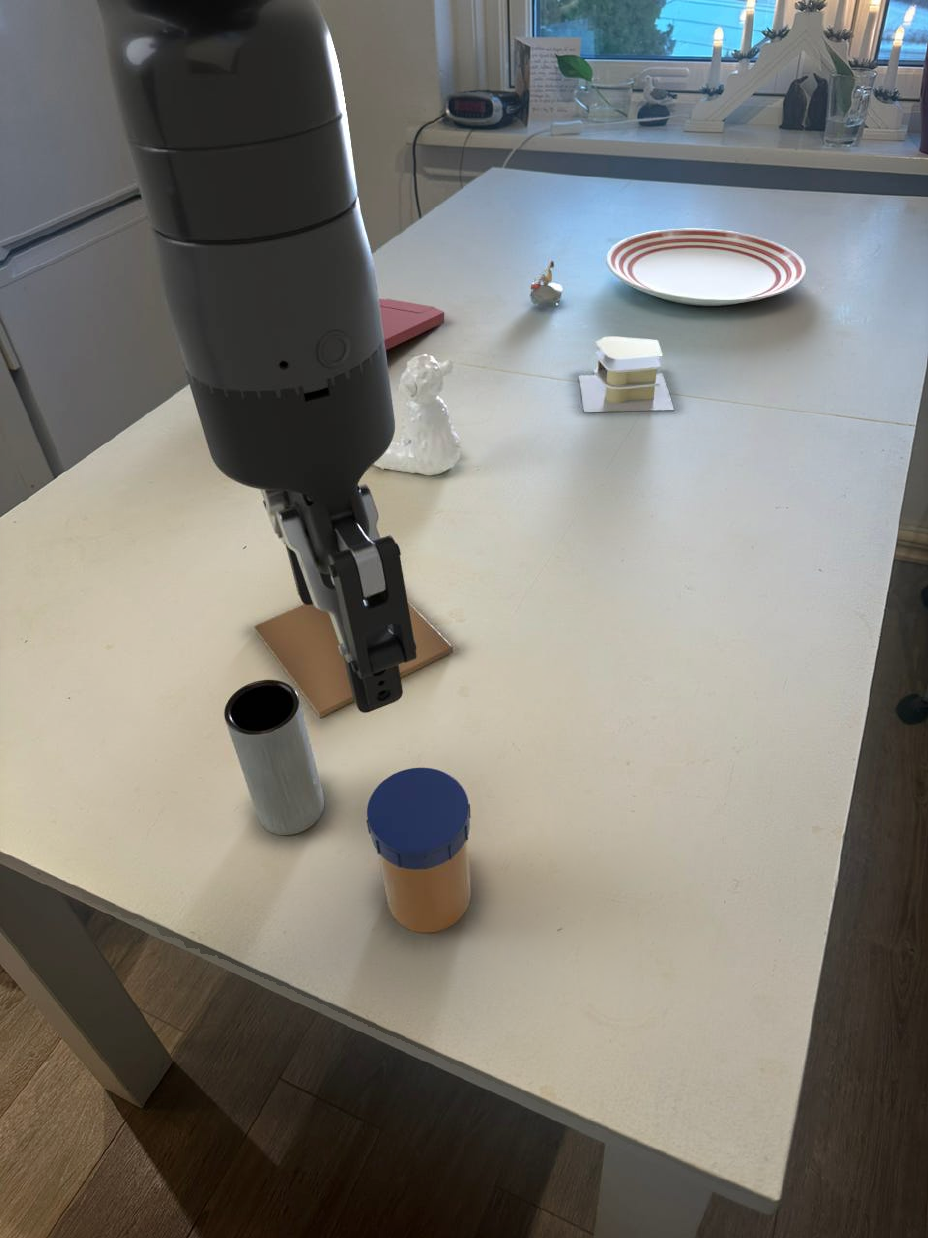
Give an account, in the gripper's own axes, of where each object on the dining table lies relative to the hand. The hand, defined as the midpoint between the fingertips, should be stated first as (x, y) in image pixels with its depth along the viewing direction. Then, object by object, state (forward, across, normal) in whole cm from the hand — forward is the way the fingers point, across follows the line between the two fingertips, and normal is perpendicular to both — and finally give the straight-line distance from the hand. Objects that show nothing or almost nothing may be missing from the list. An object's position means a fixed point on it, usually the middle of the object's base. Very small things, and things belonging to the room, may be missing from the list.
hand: (348, 646), depth 43 cm
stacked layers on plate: (+20, -45, +47) cm, 69 cm away
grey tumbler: (+19, -7, -5) cm, 21 cm away
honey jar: (+19, +3, +1) cm, 19 cm away
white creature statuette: (+20, -43, +21) cm, 52 cm away
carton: (+20, -72, +25) cm, 79 cm away
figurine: (+20, -72, +52) cm, 91 cm away
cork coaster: (+19, -20, +5) cm, 28 cm away
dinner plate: (+21, -68, +75) cm, 103 cm away
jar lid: (+10, +4, +1) cm, 11 cm away
